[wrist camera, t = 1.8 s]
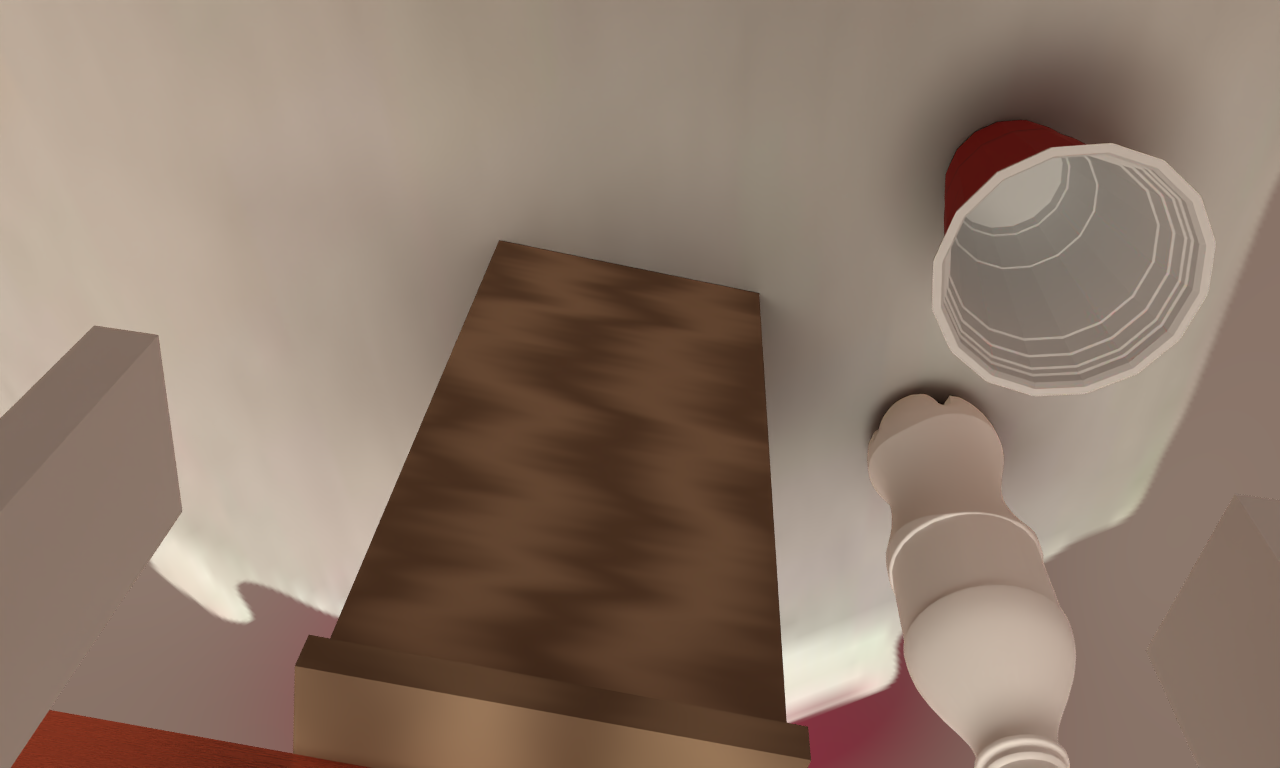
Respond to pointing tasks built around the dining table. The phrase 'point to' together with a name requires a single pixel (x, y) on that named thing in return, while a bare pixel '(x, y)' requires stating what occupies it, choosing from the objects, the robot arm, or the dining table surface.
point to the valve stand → (571, 543)
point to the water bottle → (971, 585)
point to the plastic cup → (1065, 259)
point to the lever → (144, 748)
